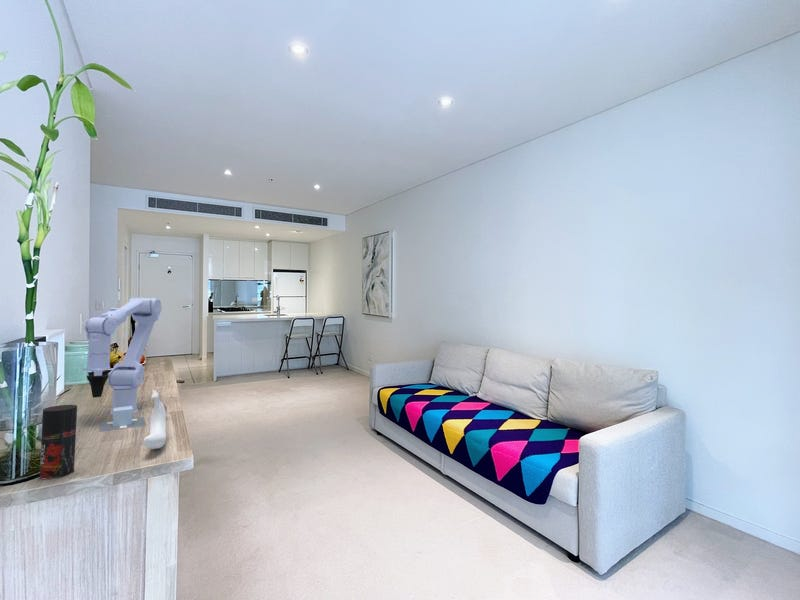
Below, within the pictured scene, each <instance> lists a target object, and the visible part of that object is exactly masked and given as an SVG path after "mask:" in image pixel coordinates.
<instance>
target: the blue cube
mask: <svg viewBox="0 0 800 600" xmlns="http://www.w3.org/2000/svg"><path fill="white" fill-rule="evenodd" d="M133 416H134V412H133V408H132V406H126V407H117V408H113V415H112V421H113V427H118V426H125V425H132V420H133V418H134V417H133Z"/></svg>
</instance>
